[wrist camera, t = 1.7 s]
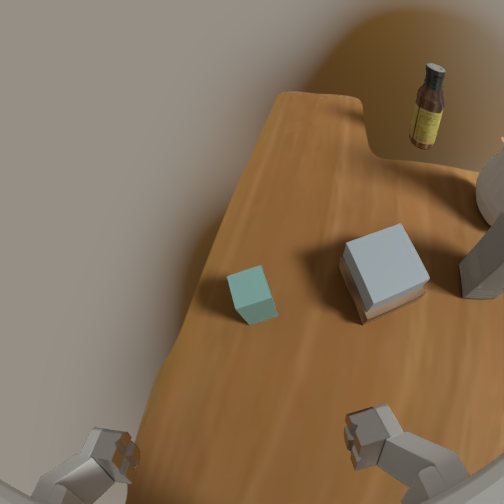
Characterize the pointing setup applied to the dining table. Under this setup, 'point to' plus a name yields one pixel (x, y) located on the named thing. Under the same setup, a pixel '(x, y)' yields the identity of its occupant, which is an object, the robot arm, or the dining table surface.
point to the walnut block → (379, 311)
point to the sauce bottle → (428, 108)
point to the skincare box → (485, 265)
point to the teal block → (252, 295)
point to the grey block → (384, 266)
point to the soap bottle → (491, 188)
